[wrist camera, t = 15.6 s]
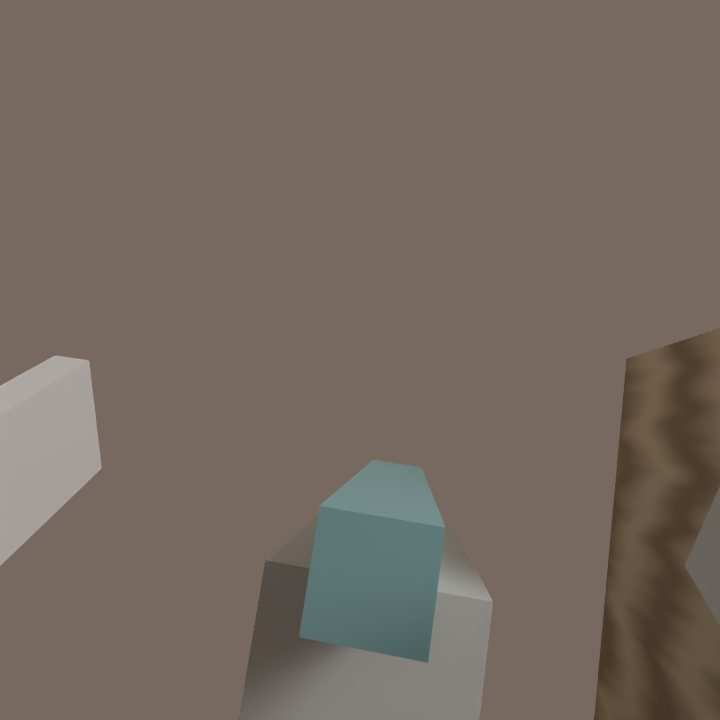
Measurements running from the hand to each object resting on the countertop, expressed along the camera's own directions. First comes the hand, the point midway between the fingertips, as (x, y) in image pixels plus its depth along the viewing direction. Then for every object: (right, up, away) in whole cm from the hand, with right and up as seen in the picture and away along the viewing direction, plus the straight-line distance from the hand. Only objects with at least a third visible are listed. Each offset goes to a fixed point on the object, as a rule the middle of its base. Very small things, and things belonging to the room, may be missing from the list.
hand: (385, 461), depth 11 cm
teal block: (+1, -7, +15) cm, 17 cm away
